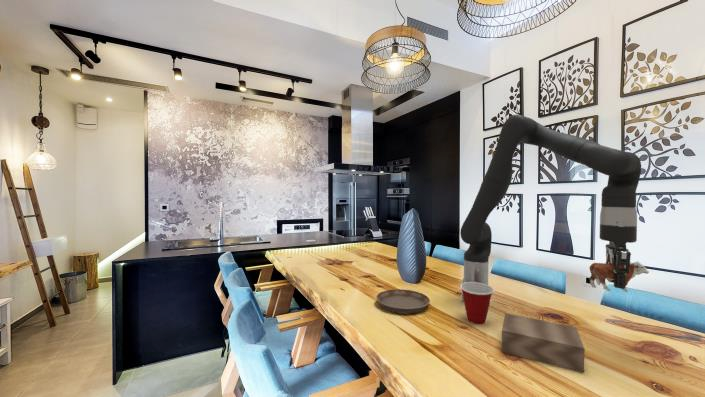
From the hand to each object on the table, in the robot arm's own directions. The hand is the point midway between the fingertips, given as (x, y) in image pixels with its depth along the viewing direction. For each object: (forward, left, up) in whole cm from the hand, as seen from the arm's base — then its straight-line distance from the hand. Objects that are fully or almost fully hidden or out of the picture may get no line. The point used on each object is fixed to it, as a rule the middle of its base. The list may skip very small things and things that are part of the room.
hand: (616, 284), depth 79 cm
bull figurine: (0, 0, -2) cm, 2 cm away
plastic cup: (-36, +2, -19) cm, 41 cm away
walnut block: (-18, -9, -19) cm, 28 cm away
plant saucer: (-63, +2, -19) cm, 66 cm away
